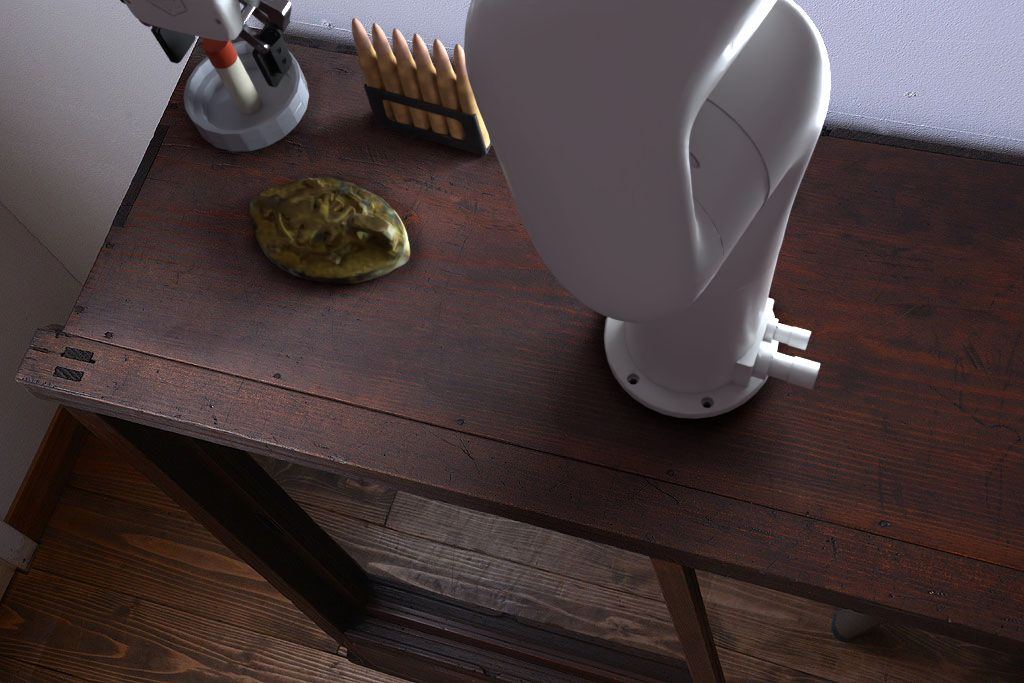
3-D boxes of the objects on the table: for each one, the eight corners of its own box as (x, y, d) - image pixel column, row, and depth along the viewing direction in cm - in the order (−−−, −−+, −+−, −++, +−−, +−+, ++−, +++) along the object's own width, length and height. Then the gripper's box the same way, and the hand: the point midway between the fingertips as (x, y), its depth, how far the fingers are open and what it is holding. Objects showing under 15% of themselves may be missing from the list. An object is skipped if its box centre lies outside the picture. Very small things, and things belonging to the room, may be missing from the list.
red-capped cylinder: (267, 98, 87) (233, 34, 80) (254, 118, 86) (220, 54, 79) (245, 92, 88) (210, 28, 80) (233, 112, 87) (196, 49, 80)
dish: (329, 77, 88) (320, 53, 85) (276, 167, 84) (264, 146, 81) (232, 52, 91) (220, 29, 88) (176, 139, 87) (162, 117, 84)
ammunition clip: (495, 139, 83) (473, 38, 72) (486, 156, 82) (463, 56, 71) (385, 108, 85) (348, 6, 75) (375, 124, 85) (337, 24, 74)
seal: (232, 262, 81) (392, 308, 77) (207, 238, 77) (375, 285, 73) (277, 167, 84) (434, 207, 80) (254, 138, 80) (419, 178, 76)
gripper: (6, -95, 67) (125, 74, 83) (213, -54, 63) (300, 119, 78) (65, -166, 70) (170, 11, 85) (267, -132, 65) (341, 49, 81)
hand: (232, 62), depth 82 cm, fingers open, 9 cm apart
